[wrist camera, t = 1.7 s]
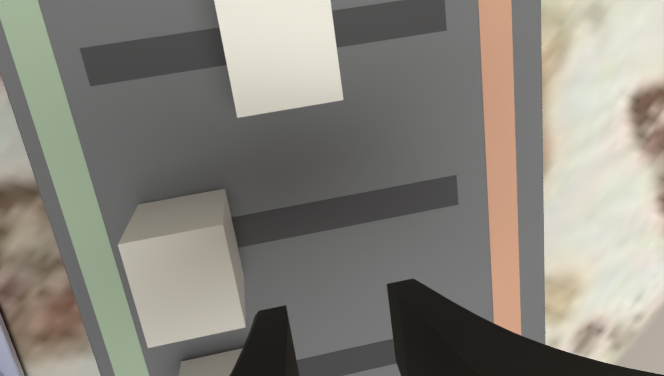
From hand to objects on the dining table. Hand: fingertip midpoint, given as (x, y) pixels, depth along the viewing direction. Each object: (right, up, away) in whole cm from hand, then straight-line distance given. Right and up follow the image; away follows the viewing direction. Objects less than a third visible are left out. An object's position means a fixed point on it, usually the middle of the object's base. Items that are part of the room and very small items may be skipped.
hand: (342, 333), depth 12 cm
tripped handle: (-2, +8, +6) cm, 10 cm away
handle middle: (-5, +1, +8) cm, 9 cm away
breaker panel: (-1, +3, +10) cm, 10 cm away
